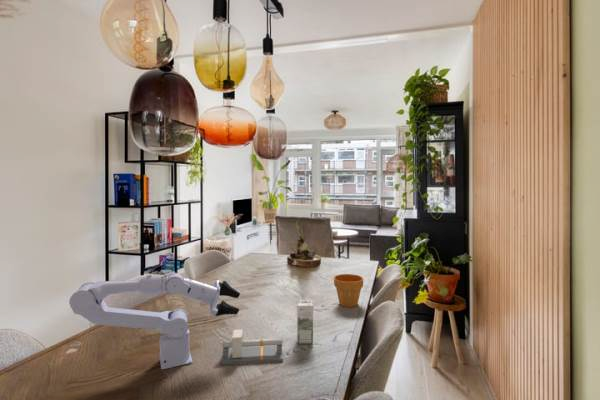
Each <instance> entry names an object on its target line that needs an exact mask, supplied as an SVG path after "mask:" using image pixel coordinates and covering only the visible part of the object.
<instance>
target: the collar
mask: <svg viewBox="0 0 600 400" xmlns="http://www.w3.org/2000/svg"><path fill="white" fill-rule="evenodd" d="M231 339H232V340H231V341H232V358H238V357H242V352H243V348H244V347H242V341H243V340H244V330H243V329H233V334H232V338H231Z"/></svg>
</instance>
